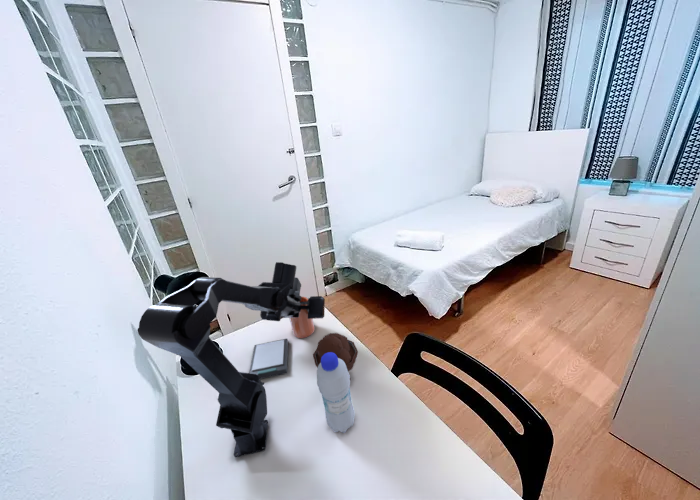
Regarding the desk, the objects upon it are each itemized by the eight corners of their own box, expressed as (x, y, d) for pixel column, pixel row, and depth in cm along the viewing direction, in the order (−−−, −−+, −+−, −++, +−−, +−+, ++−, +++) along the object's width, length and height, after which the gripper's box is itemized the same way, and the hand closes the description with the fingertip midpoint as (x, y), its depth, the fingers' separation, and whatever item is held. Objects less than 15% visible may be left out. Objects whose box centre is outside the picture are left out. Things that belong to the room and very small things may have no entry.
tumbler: (315, 335, 88) (309, 307, 83) (293, 340, 87) (285, 312, 83) (314, 321, 94) (308, 294, 90) (293, 325, 94) (286, 298, 89)
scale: (286, 373, 76) (285, 367, 75) (249, 381, 75) (247, 375, 74) (288, 342, 87) (287, 337, 86) (255, 348, 86) (254, 344, 85)
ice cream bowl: (361, 397, 67) (355, 351, 60) (316, 400, 68) (305, 354, 61) (361, 362, 76) (355, 319, 70) (321, 364, 77) (312, 322, 71)
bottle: (330, 441, 58) (314, 374, 50) (324, 413, 64) (309, 348, 56) (360, 431, 60) (350, 364, 51) (351, 403, 66) (341, 339, 57)
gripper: (318, 273, 76) (330, 285, 91) (253, 277, 79) (275, 288, 93) (317, 315, 72) (329, 320, 87) (249, 317, 75) (273, 322, 89)
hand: (301, 311), depth 89 cm, fingers closed on tumbler, 7 cm apart
